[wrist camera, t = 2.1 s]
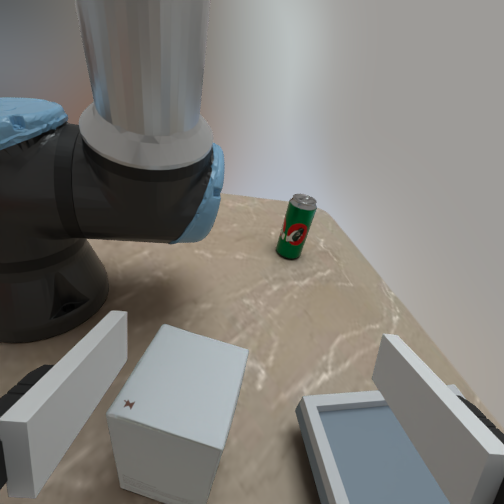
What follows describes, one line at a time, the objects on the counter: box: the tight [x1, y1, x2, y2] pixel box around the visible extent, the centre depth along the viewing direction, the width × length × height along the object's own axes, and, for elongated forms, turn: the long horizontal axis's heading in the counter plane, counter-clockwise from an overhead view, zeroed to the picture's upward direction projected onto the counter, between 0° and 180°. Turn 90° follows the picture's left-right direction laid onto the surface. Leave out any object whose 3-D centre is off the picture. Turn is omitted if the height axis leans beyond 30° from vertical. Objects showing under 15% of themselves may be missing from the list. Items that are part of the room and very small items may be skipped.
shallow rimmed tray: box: [295, 385, 465, 504], centre depth 24 cm, size 18×15×6 cm
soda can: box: [276, 194, 317, 259], centre depth 53 cm, size 5×5×12 cm
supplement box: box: [106, 324, 249, 504], centre depth 22 cm, size 7×7×13 cm
